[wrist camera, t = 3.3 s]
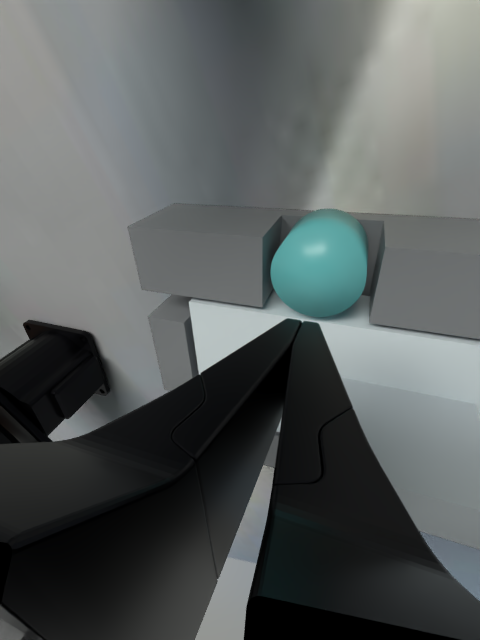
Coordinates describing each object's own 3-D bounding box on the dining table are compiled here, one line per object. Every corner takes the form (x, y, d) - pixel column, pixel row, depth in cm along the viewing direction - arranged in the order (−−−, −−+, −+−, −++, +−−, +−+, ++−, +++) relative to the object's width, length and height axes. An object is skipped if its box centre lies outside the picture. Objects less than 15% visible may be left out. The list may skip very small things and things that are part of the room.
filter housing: (201, 395, 24) (175, 438, 21) (174, 203, 17) (127, 226, 14) (441, 454, 20) (453, 520, 17) (554, 223, 12) (616, 265, 9)
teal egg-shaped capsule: (285, 280, 15) (270, 310, 13) (288, 206, 14) (271, 227, 11) (361, 289, 14) (358, 323, 12) (375, 210, 13) (375, 233, 10)
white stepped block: (221, 381, 21) (164, 484, 15) (212, 276, 17) (129, 364, 11) (461, 435, 17) (503, 601, 11) (523, 314, 13) (637, 479, 7)
